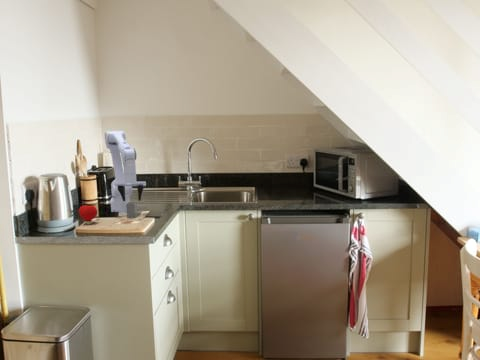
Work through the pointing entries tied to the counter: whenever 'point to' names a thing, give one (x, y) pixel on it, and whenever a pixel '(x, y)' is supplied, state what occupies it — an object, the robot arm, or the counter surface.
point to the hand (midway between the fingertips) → (131, 200)
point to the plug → (131, 210)
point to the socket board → (137, 219)
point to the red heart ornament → (87, 213)
